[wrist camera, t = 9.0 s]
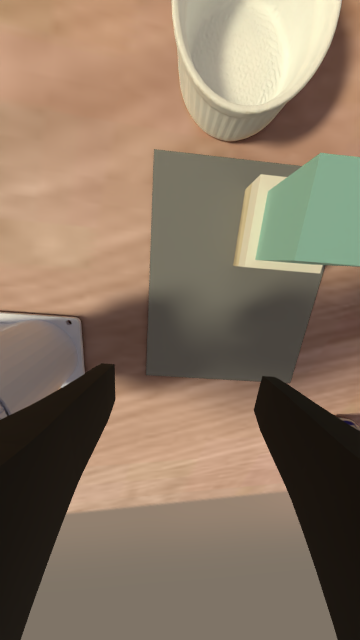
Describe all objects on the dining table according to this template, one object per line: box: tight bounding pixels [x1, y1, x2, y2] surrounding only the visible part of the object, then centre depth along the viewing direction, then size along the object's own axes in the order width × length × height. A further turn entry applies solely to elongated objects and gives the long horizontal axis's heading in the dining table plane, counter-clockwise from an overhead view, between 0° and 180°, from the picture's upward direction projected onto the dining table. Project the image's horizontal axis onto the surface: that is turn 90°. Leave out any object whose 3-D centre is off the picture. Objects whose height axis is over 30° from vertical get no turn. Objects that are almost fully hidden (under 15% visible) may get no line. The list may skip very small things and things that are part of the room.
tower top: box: [238, 174, 323, 274], centre depth 15 cm, size 6×6×2 cm
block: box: [255, 153, 360, 267], centre depth 12 cm, size 4×4×5 cm
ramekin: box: [172, 0, 342, 141], centre depth 12 cm, size 9×9×4 cm
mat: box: [146, 149, 325, 383], centre depth 18 cm, size 16×20×1 cm
